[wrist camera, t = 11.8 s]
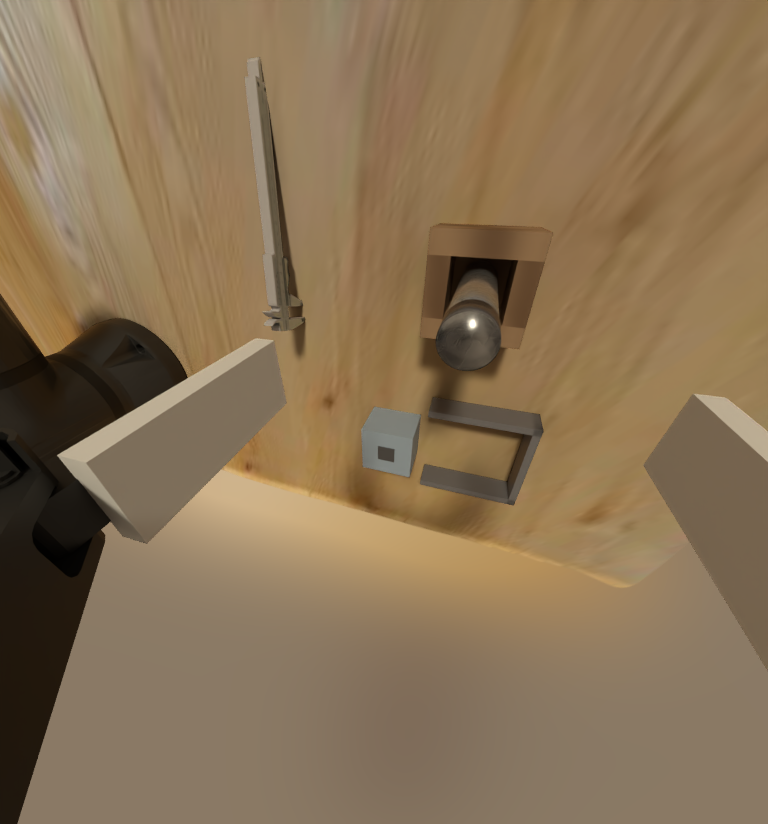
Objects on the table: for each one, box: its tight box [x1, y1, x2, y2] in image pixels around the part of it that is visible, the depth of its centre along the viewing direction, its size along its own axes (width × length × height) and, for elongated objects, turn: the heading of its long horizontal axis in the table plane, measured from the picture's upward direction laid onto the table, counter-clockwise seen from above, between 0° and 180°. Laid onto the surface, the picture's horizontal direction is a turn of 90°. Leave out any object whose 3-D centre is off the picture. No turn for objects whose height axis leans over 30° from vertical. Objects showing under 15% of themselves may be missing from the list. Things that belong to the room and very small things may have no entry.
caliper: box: [245, 57, 305, 331], centre depth 27 cm, size 20×1×6 cm, turn 2°
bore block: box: [420, 223, 553, 349], centre depth 25 cm, size 8×8×6 cm
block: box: [362, 407, 421, 477], centre depth 38 cm, size 6×6×5 cm
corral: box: [420, 397, 543, 505], centre depth 36 cm, size 12×12×3 cm
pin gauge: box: [436, 261, 501, 371], centre depth 21 cm, size 3×3×15 cm
